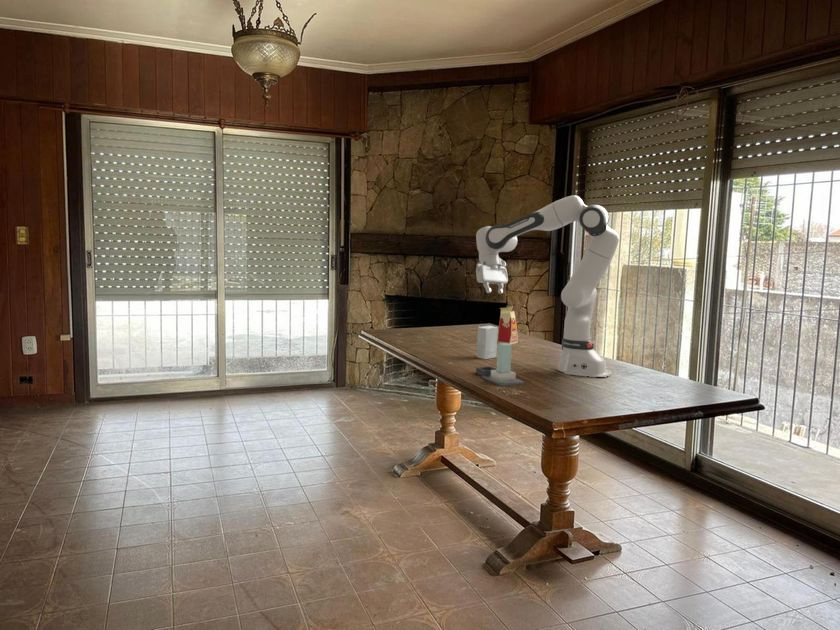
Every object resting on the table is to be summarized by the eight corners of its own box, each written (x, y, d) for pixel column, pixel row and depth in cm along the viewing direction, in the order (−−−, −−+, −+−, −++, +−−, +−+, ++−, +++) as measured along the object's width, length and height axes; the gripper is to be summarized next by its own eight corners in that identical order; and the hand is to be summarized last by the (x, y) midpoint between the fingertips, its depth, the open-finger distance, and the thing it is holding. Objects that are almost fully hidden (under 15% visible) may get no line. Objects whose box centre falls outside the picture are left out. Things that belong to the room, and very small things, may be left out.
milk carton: (517, 342, 345) (519, 305, 343) (510, 344, 338) (512, 307, 335) (502, 340, 350) (504, 304, 347) (495, 342, 342) (496, 305, 340)
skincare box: (488, 355, 305) (489, 325, 303) (497, 357, 301) (498, 326, 299) (475, 357, 300) (476, 326, 298) (484, 359, 295) (486, 328, 294)
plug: (496, 377, 255) (497, 343, 253) (504, 377, 256) (506, 343, 254) (501, 380, 251) (503, 345, 249) (509, 379, 253) (511, 344, 251)
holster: (475, 373, 266) (476, 367, 266) (490, 372, 269) (490, 366, 269) (484, 377, 260) (484, 371, 260) (499, 375, 263) (499, 370, 263)
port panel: (482, 378, 258) (482, 368, 257) (505, 376, 262) (505, 366, 262) (499, 386, 245) (500, 376, 245) (524, 384, 250) (524, 374, 249)
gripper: (482, 259, 274) (487, 290, 272) (507, 262, 290) (512, 292, 288) (470, 263, 278) (475, 293, 276) (496, 266, 294) (501, 295, 292)
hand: (494, 293), depth 282 cm, fingers open, 8 cm apart
